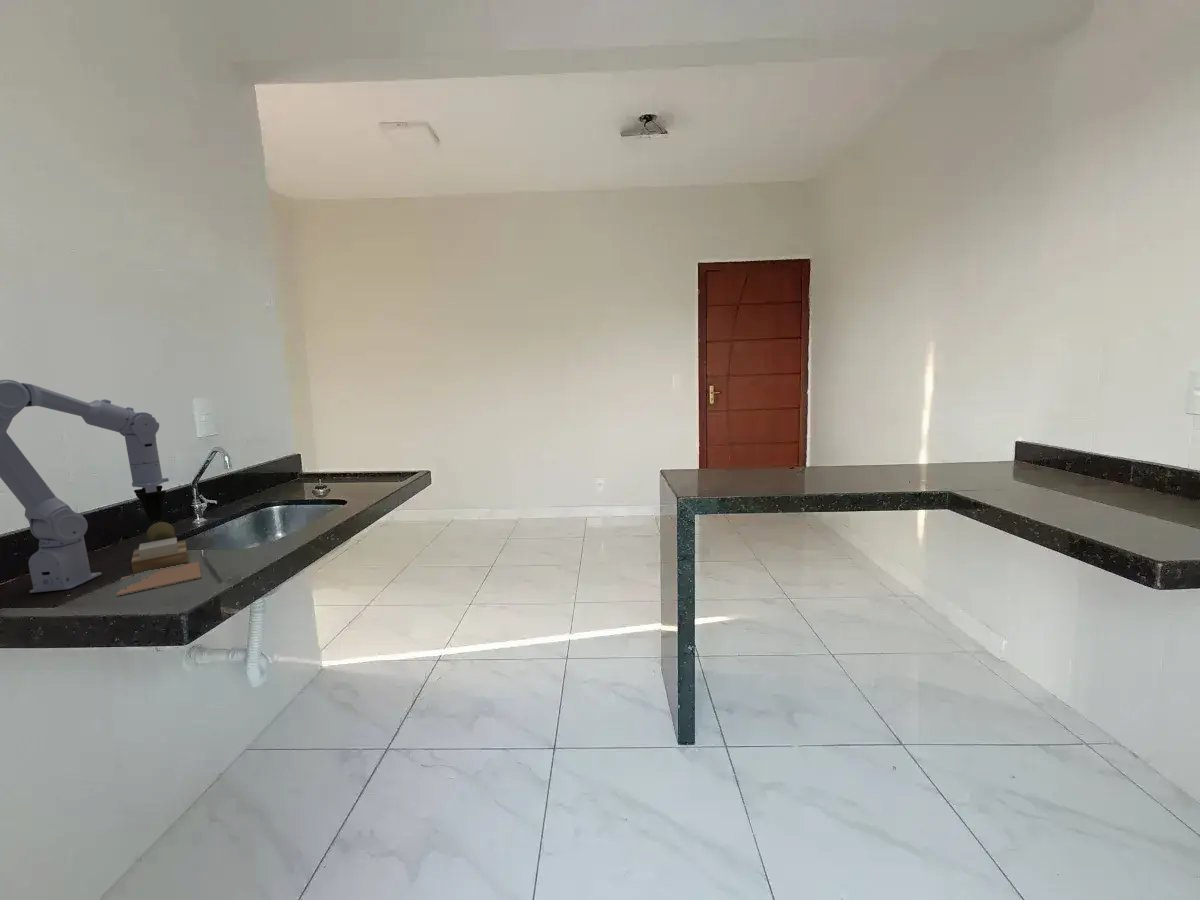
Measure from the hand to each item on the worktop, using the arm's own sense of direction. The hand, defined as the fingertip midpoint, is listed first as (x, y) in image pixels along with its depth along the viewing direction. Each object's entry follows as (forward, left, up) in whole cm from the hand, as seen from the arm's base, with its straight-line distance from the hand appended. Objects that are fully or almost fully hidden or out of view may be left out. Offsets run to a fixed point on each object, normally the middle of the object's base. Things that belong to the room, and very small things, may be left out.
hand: (154, 518), depth 144 cm
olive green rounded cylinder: (+13, +7, -6) cm, 16 cm away
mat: (-19, -12, -9) cm, 24 cm away
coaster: (-8, -5, -6) cm, 11 cm away
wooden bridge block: (-6, -4, -9) cm, 12 cm away
